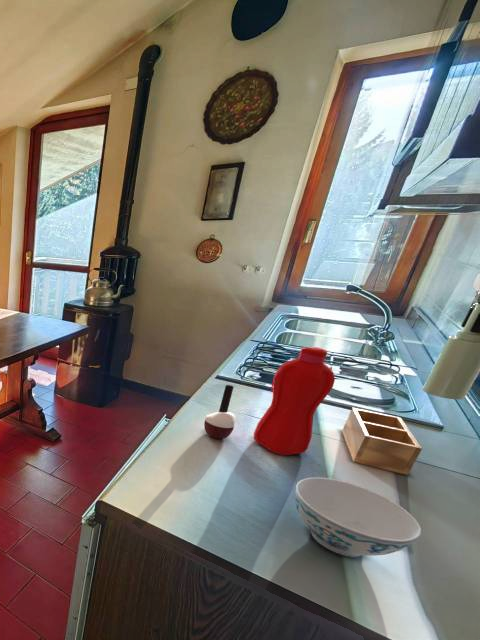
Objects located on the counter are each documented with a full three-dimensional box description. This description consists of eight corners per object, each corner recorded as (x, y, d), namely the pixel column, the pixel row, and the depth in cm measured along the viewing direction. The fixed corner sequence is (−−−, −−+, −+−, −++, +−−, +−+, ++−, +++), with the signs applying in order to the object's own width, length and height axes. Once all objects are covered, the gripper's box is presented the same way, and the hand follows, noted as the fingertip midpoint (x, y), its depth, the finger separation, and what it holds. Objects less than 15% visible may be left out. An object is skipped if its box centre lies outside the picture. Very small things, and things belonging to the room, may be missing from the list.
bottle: (458, 392, 83) (506, 303, 76) (469, 402, 79) (522, 309, 71) (418, 385, 87) (461, 300, 79) (426, 395, 82) (473, 305, 74)
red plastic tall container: (270, 431, 101) (305, 338, 91) (312, 455, 91) (355, 353, 81) (239, 434, 99) (271, 340, 89) (278, 458, 89) (318, 356, 79)
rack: (388, 441, 96) (401, 417, 94) (407, 475, 84) (422, 448, 81) (341, 431, 101) (352, 407, 98) (353, 461, 88) (365, 435, 86)
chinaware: (426, 575, 60) (451, 537, 57) (337, 581, 59) (357, 543, 56) (335, 508, 74) (351, 475, 71) (261, 512, 73) (274, 479, 70)
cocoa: (219, 445, 94) (233, 401, 89) (194, 434, 99) (206, 391, 94) (239, 435, 99) (253, 392, 94) (214, 424, 104) (226, 383, 99)
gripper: (593, 233, 62) (527, 344, 69) (537, 230, 74) (487, 324, 81) (519, 233, 66) (464, 337, 73) (478, 230, 78) (435, 319, 85)
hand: (477, 329), depth 77 cm, fingers closed on bottle, 3 cm apart
